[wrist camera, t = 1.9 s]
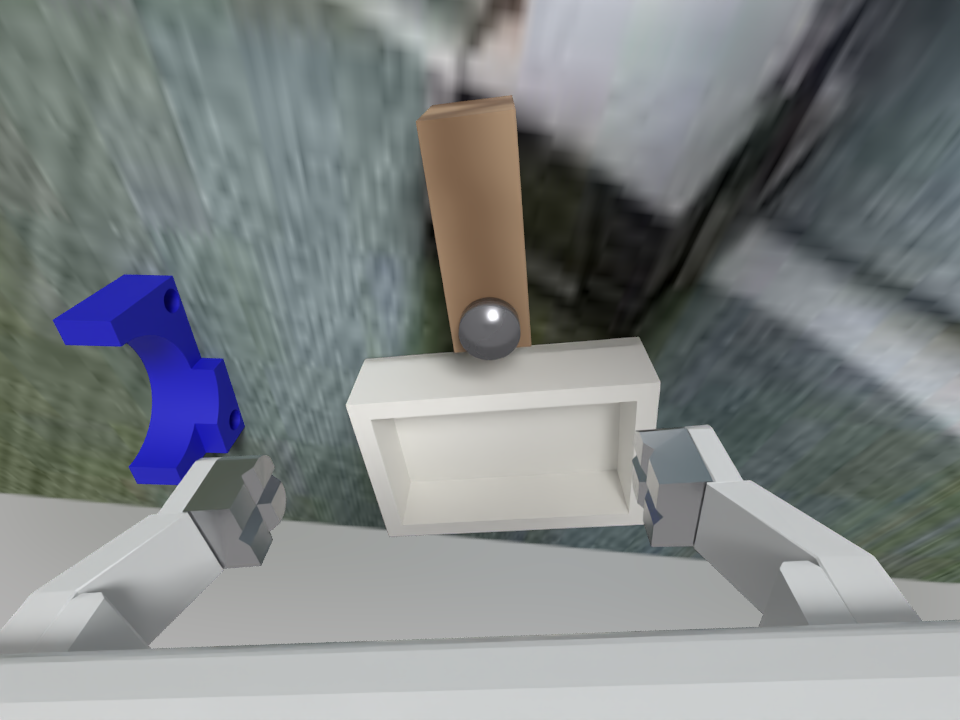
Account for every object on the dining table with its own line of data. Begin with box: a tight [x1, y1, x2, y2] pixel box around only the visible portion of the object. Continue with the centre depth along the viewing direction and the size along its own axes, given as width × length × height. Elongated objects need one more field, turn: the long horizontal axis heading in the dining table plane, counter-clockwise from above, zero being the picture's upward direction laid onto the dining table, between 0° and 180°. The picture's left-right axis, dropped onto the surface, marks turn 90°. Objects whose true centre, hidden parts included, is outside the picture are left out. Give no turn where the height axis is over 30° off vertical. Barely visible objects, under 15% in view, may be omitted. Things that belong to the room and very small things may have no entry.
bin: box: [346, 337, 661, 537], centre depth 34 cm, size 18×12×5 cm, turn 97°
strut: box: [416, 95, 531, 360], centre depth 25 cm, size 4×11×7 cm, turn 7°
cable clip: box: [53, 275, 245, 485], centre depth 31 cm, size 12×4×6 cm, turn 179°
